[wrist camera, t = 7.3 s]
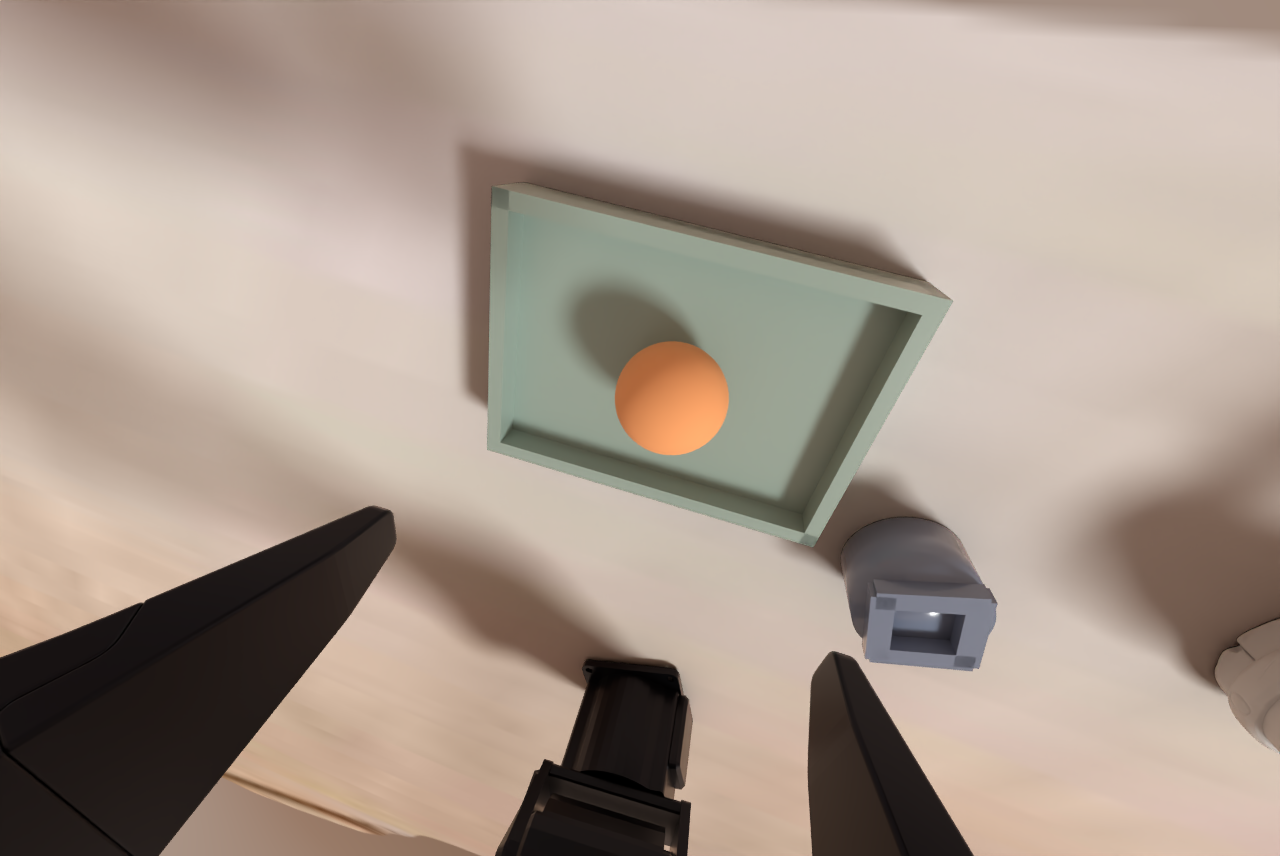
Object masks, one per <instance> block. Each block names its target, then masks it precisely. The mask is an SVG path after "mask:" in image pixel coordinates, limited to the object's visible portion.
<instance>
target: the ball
mask: <svg viewBox="0 0 1280 856" xmlns="http://www.w3.org/2000/svg"><path fill="white" fill-rule="evenodd" d="M728 405H729V391H728V385H727V382H726V379H725V376H724V374H723V372H722V370H721V368H720V367H719V365H718V364H717V363H716V361H715V360H714V359H713V358H712V357H711V356H710V355H708V354H707V353H706V352H705V351H703V350H702V349H700V348H698V347H696V346H694V345H691V344H688V343H684V342H677V341H667V342H660V343H656V344H653V345H650V346H648V347H646V348H644V349H643V350H641V351H640V352H638V353H637V354H635V355H634V356H633V357H632V358H631V359H630V360H629V361H628V363H627V364H626V365H625V367H624V368H623V370H622V372H621V374H620V376H619V378H618V381H617V385H616V390H615V407H616V412H617V416H618V419H619V421H620V423H621V425H622V427H623V429H624V430H625V432H626V433H627V434H628V436H629V437H630V438H631V439H632V440H633V441H634V442H636V443H637V444H638V445H640V446H641V447H643V448H645V449H647V450H649V451H651V452H654V453H658V454H662V455H681V454H686V453H689V452H692V451H694V450H696V449H699V448H701V447H702V446H704V445H705V444H706V443H708V442H709V441H710V440H711V439H712V438H713V437H714V436H715V435H716V434H717V432H718V431H719V429H720V428H721V426H722V424H723V422H724V420H725V418H726V414H727V410H728Z"/></svg>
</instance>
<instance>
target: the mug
mask: <svg viewBox="0 0 1280 856" xmlns="http://www.w3.org/2000/svg"><path fill="white" fill-rule="evenodd" d="M1237 642H1238V643H1239V644H1240V646H1237V647H1233V648H1229V649H1227V650H1225V651H1223V653H1222V654H1221V656H1220V657H1219V660H1218V663H1217V666H1216V668H1215V678H1216V681H1217V683H1218V684H1219V686H1220V687H1221V689H1222V690H1223V691H1224V692H1225V694H1226V695H1227V696H1228V701H1229V705H1230V708H1231V710H1232V712H1233V714H1234V716H1235V717H1236V719H1237V720H1238V721H1239V722H1240V723H1241V725H1242V726H1243V727H1244V728H1245V729H1246V730H1247V731H1248V732H1249V733H1250V734H1251V735H1252V736H1253V737H1254V738H1255V739H1256V740H1257V741H1258V742H1260V743H1261V744H1262V745H1264V746H1265V747H1267V748H1269V749H1271V750H1273V751H1275V752H1277V753H1279V754H1280V619H1277V620H1275V621H1272V622H1268V623H1266V624H1264V625H1261V626H1259V627H1256V628H1254V629H1251V630H1249V631H1247V632H1246V633H1244V634H1242V635H1241V636H1239V637H1238V638H1237Z"/></svg>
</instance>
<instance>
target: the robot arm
mask: <svg viewBox="0 0 1280 856" xmlns="http://www.w3.org/2000/svg"><path fill="white" fill-rule="evenodd" d="M395 544H396V530H395V522H394V516H393V513H392V512H391V511H390V510H388V509H384V508H381V507H378V506H368V507H366V508H363V509H361V510H359V511H356V512H354V513H351V514H349V515H347V516H344V517H342V518H340V519H337V520H335V521H332V522H330V523H328V524H325V525H323V526H321V527H318V528H316V529H313V530H311V531H309V532H306V533H304V534H302V535H299V536H297V537H294V538H292V539H290V540H287V541H285V542H283V543H280V544H278V545H275V546H273V547H271V548H268V549H266V550H264V551H261V552H259V553H256V554H254V555H252V556H249V557H247V558H245V559H242V560H240V561H237V562H235V563H233V564H230V565H228V566H226V567H223V568H221V569H218V570H216V571H214V572H211V573H209V574H207V575H204V576H202V577H199V578H197V579H195V580H192V581H190V582H188V583H185V584H183V585H180V586H178V587H176V588H173V589H171V590H169V591H166V592H164V593H161V594H159V595H157V596H154V597H152V598H150V599H147V600H146V601H145V602H144V603H137V604H135V605H133V606H130V607H128V608H126V609H123V610H121V611H118V612H116V613H114V614H111V615H109V616H106V617H104V618H101V619H99V620H96V621H94V622H92V623H89V624H87V625H84V626H82V627H79V628H77V629H74V630H72V631H69V632H67V633H64V634H62V635H59V636H56V637H54V638H51V639H48V640H46V641H43V642H41V643H38V644H35V645H33V646H30V647H27V648H25V649H22V650H19V651H17V652H14V653H11V654H9V655H6V656H3V657H0V856H159V855H160V853H161V852H162V851H163V850H164V848H165V847H166V846H167V845H168V843H169V842H170V841H171V840H172V838H173V837H174V836H175V835H176V833H177V832H178V831H179V830H180V828H181V827H182V826H183V825H184V823H185V822H186V821H187V820H188V818H189V817H190V816H191V815H192V813H193V812H194V811H195V810H196V808H197V807H198V806H199V805H200V803H201V802H202V801H203V800H204V798H205V797H206V796H207V795H208V793H209V792H210V791H211V789H212V788H213V787H214V786H215V784H216V783H217V782H218V780H219V779H220V778H221V777H222V776H223V774H224V773H225V772H226V771H227V769H228V768H229V767H230V766H231V764H232V763H233V762H234V761H235V759H236V758H237V757H238V756H239V754H240V753H241V752H242V751H243V749H244V748H245V747H246V746H247V744H248V743H249V742H250V741H251V739H252V738H253V737H254V736H255V734H256V733H257V732H258V731H259V729H260V728H261V727H262V726H263V724H264V723H265V722H266V721H267V719H268V718H269V717H270V716H271V714H272V713H273V712H274V710H275V709H276V708H277V707H278V705H279V704H280V703H281V702H282V700H283V699H284V698H285V697H286V695H287V694H288V693H289V692H290V690H291V689H292V688H293V687H294V685H295V684H296V683H297V682H298V680H299V679H300V678H301V677H302V675H303V674H304V673H305V672H306V670H307V669H308V668H309V667H310V665H311V664H312V663H313V662H314V660H315V659H316V658H317V657H318V655H319V654H320V653H321V652H322V650H323V649H324V648H325V647H326V645H327V644H328V643H329V642H330V640H331V639H332V638H333V636H334V635H335V634H336V633H337V631H338V630H339V629H340V628H341V626H342V625H343V624H344V623H345V621H346V620H347V619H348V617H349V616H350V615H351V613H352V612H353V610H354V609H355V607H356V606H357V604H358V603H359V601H360V600H361V598H362V597H363V595H364V594H365V592H366V590H367V589H368V587H369V586H370V584H371V583H372V581H373V580H374V578H375V577H376V575H377V573H378V572H379V570H380V569H381V567H382V566H383V564H384V563H385V561H386V560H387V558H388V557H389V555H390V553H391V552H392V550H393V549H394V546H395ZM582 670H583V673H584V676H585V679H586V681H587V687H586V690H585V693H584V696H583V700H582V703H581V706H580V709H579V712H578V715H577V718H576V721H575V724H574V727H573V730H572V733H571V737H570V740H569V743H568V746H567V749H566V752H565V755H564V758H563V761H562V764H561V766H560V765H556V764H553V761H550V760H546V759H544V761H543V763H542V766H541V768H540V770H536V771H534V774H533V776H532V779H531V782H530V785H529V787H528V790H527V793H526V795H525V798H524V800H523V802H522V805H521V807H520V809H519V811H518V812H517V814H516V816H515V818H514V820H513V821H512V823H511V825H510V827H509V829H508V831H507V832H506V834H505V836H504V838H503V840H502V841H501V843H500V845H499V847H498V849H497V851H496V854H495V856H687V851H688V837H689V823H690V810H691V803H690V802H687V801H684V800H681V802H680V801H677V800H674V793H675V789H682V788H683V787H684V786H685V782H686V773H687V765H688V756H689V748H690V739H691V731H692V722H693V719H692V714H691V709H690V704H689V700H688V698H687V697H686V696H684V694H683V689H682V684H681V679H680V674H679V672H678V671H676V670H674V669H671V668H661V667H651V666H642V665H632V664H623V663H613V662H603V661H594V660H586V661H585V662H584V664H583V667H582ZM808 791H809V807H810V823H811V839H812V856H974V855H973V853H972V852H971V850H970V848H969V847H968V845H967V843H966V842H965V840H964V838H963V837H962V835H961V833H960V832H959V830H958V829H957V827H956V825H955V824H954V822H953V820H952V819H951V817H950V815H949V814H948V812H947V810H946V809H945V807H944V805H943V804H942V802H941V800H940V799H939V797H938V795H937V794H936V792H935V790H934V789H933V787H932V785H931V784H930V782H929V780H928V779H927V777H926V775H925V774H924V772H923V771H922V769H921V767H920V766H919V764H918V762H917V761H916V759H915V757H914V756H913V754H912V752H911V751H910V749H909V747H908V746H907V744H906V742H905V741H904V739H903V737H902V736H901V734H900V732H899V731H898V729H897V727H896V726H895V724H894V722H893V721H892V719H891V717H890V716H889V714H888V713H887V711H886V709H885V708H884V706H883V704H882V703H881V701H880V699H879V698H878V696H877V694H876V693H875V691H874V689H873V688H872V686H871V684H870V683H869V681H868V679H867V678H866V676H865V674H864V673H863V671H862V669H861V668H860V666H859V664H858V663H857V661H856V660H855V659H854V658H852V657H851V656H848V655H845V654H842V653H839V652H835V651H832V652H829V653H828V655H827V656H826V657H825V659H824V660H823V661H822V663H821V664H820V666H819V667H818V668H817V670H816V671H815V673H814V675H813V677H812V681H811V695H810V719H809V743H808ZM664 845H668V846H670V851H666V850H664Z"/></svg>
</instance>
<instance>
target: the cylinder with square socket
mask: <svg viewBox="0 0 1280 856" xmlns="http://www.w3.org/2000/svg"><path fill="white" fill-rule="evenodd" d="M841 567H842V572H843V577H844V582H845V587H846V592H847V597H848V602H849V608H850V613H851V618H852V622H853V626H854V628H855V630H856V631H857V633H858V634H859V635H860V637H861V638H862V647H863V652H864V656H865V659H869V661H870V662H875V663H886V664H897V665H908V666H919V667H931V668H942V669H953V670H964V671H973V668H977V669H979V667H980V663H981V660H982V656H983V653H984V649H985V646H986V642H987V639H988V635H989V634H990V633H991V631H992V630H993V627H994V625H995V622H996V607H997V602H996V600H995V598H994V596H993V594H992V592H991V590H990V589H989V588H986V587H985V585H984V584H983V583H982V581H981V579H980V577H979V575H978V573H977V571H976V569H975V567H974V566H973V564H972V562H971V560H970V558H969V556H968V554H967V552H966V550H965V548H964V546H963V544H962V542H961V541H960V539H959V538H958V537H957V536H956V535H955V534H954V533H953V532H952V531H950V530H949V529H947V528H946V527H944V526H942V525H940V524H938V523H935V522H933V521H929V520H925V519H920V518H910V517H900V518H891V519H885V520H881V521H878V522H875V523H872V524H870V525H868V526H866V527H864V528H862V529H860V530H859V531H857V532H856V533H855V534H854V535H853V536H852V537H851V538H850V539H849V540H848V541H847V542H846V544H845V546H844V548H843V550H842V553H841Z"/></svg>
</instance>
